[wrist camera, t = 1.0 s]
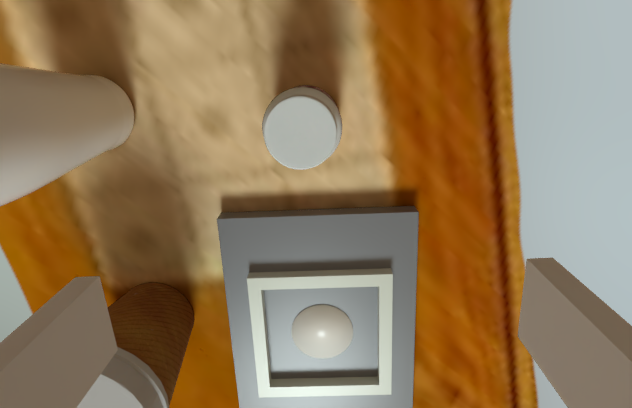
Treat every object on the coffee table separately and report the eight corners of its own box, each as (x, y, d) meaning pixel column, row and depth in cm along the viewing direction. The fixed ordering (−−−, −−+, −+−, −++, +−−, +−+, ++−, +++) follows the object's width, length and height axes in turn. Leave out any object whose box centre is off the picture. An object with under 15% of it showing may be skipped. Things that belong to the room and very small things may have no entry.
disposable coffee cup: (78, 294, 35) (-39, 401, 24) (172, 245, 34) (94, 333, 22) (144, 378, 38) (66, 511, 26) (234, 335, 36) (193, 456, 25)
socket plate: (221, 212, 33) (213, 223, 31) (414, 205, 32) (421, 216, 30) (245, 417, 39) (240, 440, 36) (408, 414, 38) (414, 437, 36)
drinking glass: (158, 87, 30) (9, 99, 16) (133, 172, 32) (-20, 251, 18) (65, 48, 30) (-178, 25, 15) (46, 137, 31) (-186, 191, 17)
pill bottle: (350, 131, 31) (359, 152, 23) (293, 161, 32) (283, 191, 24) (320, 71, 30) (319, 71, 22) (261, 104, 30) (240, 115, 22)
